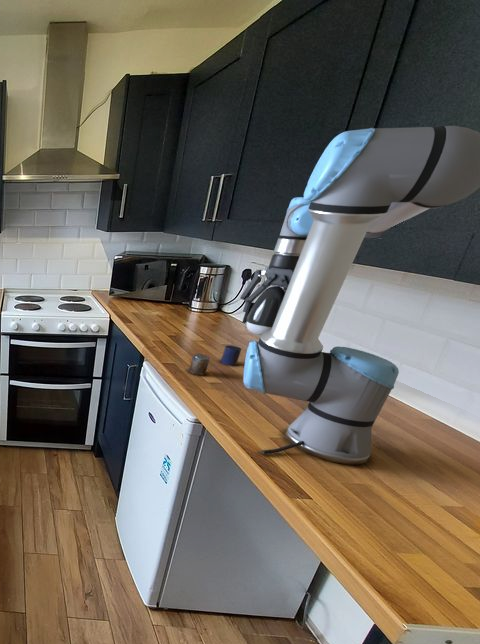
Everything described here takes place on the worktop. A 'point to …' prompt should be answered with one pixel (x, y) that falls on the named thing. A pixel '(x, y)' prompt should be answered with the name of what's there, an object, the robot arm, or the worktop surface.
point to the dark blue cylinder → (230, 355)
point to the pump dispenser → (265, 310)
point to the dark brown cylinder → (199, 364)
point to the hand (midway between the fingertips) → (263, 326)
